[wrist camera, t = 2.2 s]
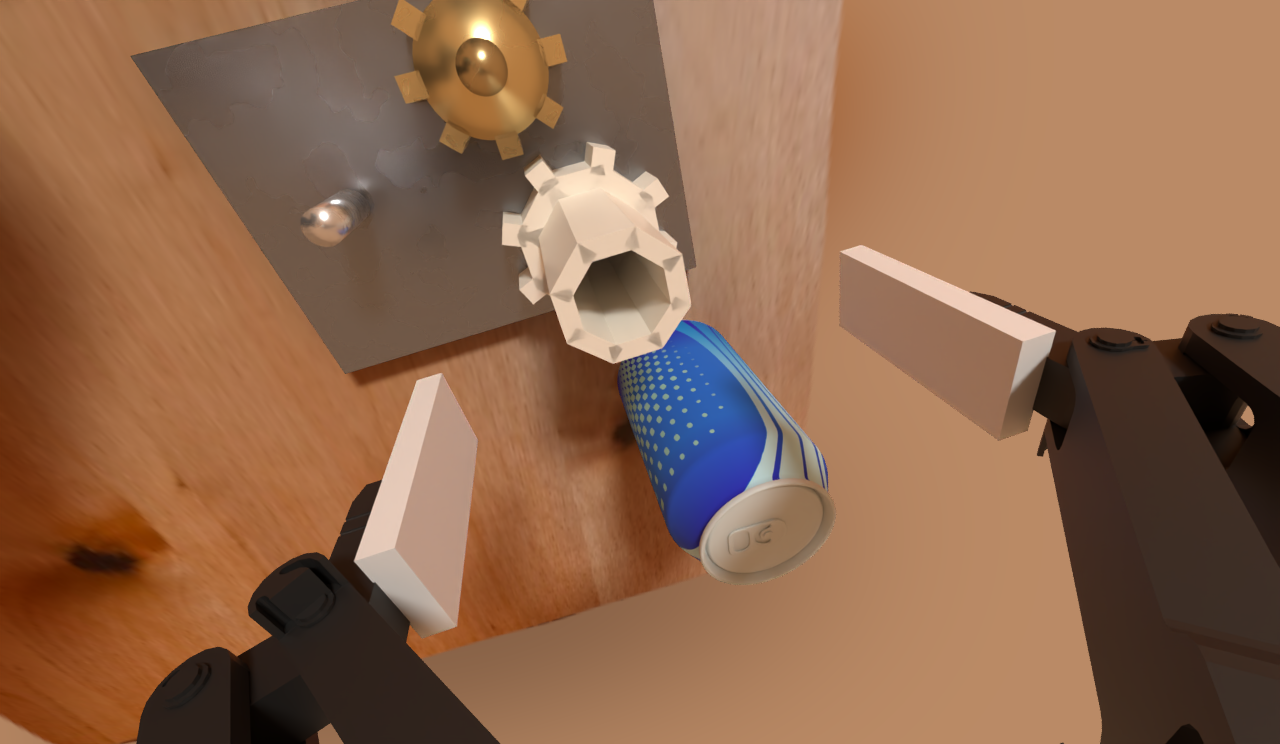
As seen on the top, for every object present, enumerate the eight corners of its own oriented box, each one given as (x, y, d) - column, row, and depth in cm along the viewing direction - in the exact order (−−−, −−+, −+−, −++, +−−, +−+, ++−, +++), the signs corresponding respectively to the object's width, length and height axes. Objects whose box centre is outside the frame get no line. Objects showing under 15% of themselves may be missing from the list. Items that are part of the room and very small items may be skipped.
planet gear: (537, 322, 29) (548, 423, 21) (479, 171, 25) (462, 217, 16) (674, 280, 30) (742, 360, 21) (644, 125, 25) (716, 145, 16)
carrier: (352, 361, 29) (319, 417, 24) (153, 57, 21) (39, 48, 16) (688, 259, 31) (723, 292, 26) (634, -60, 23) (670, -103, 17)
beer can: (651, 292, 32) (754, 442, 18) (746, 338, 35) (890, 492, 22) (593, 392, 35) (645, 584, 21) (686, 425, 38) (781, 608, 25)
